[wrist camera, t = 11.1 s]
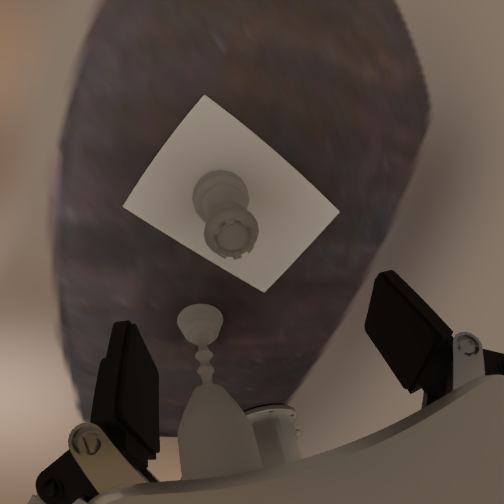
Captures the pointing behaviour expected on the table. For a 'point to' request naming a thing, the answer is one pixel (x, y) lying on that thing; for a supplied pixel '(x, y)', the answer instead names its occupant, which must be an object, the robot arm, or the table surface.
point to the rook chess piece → (225, 214)
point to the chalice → (212, 411)
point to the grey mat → (258, 185)
